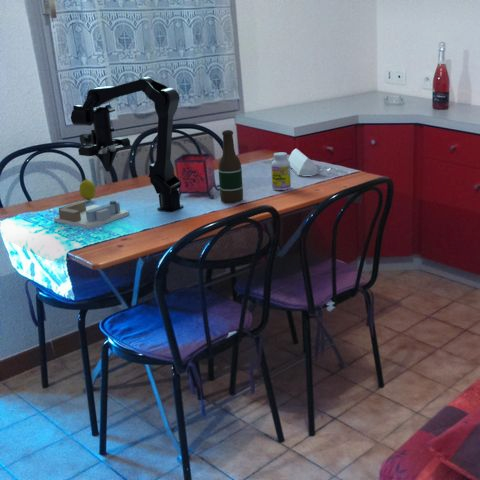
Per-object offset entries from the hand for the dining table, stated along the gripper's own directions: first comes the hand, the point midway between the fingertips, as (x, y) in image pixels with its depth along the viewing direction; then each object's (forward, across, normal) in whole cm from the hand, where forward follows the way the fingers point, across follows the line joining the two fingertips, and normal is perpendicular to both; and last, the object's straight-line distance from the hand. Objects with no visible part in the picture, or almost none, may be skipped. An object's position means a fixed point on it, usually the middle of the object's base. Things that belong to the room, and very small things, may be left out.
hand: (107, 171), depth 235 cm
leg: (+11, +13, +11) cm, 20 cm away
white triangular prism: (+12, -70, +34) cm, 79 cm away
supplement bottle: (+12, -43, +42) cm, 61 cm away
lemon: (+12, 0, -12) cm, 17 cm away
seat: (+12, +14, +6) cm, 19 cm away
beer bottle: (+12, -23, +35) cm, 44 cm away
